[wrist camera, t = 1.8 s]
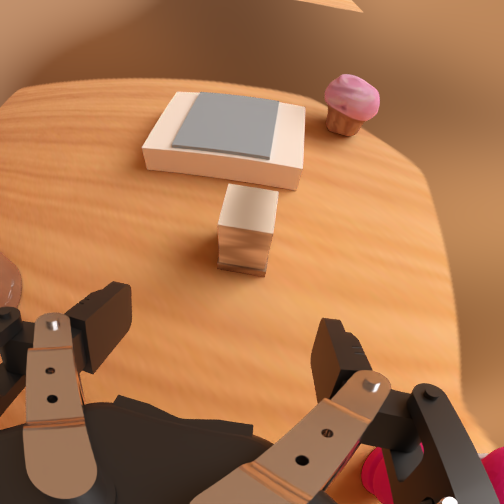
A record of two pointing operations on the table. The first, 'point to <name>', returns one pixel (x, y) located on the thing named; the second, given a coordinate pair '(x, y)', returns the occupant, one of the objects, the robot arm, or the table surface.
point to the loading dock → (229, 139)
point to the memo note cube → (246, 229)
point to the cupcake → (350, 104)
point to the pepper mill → (374, 470)
